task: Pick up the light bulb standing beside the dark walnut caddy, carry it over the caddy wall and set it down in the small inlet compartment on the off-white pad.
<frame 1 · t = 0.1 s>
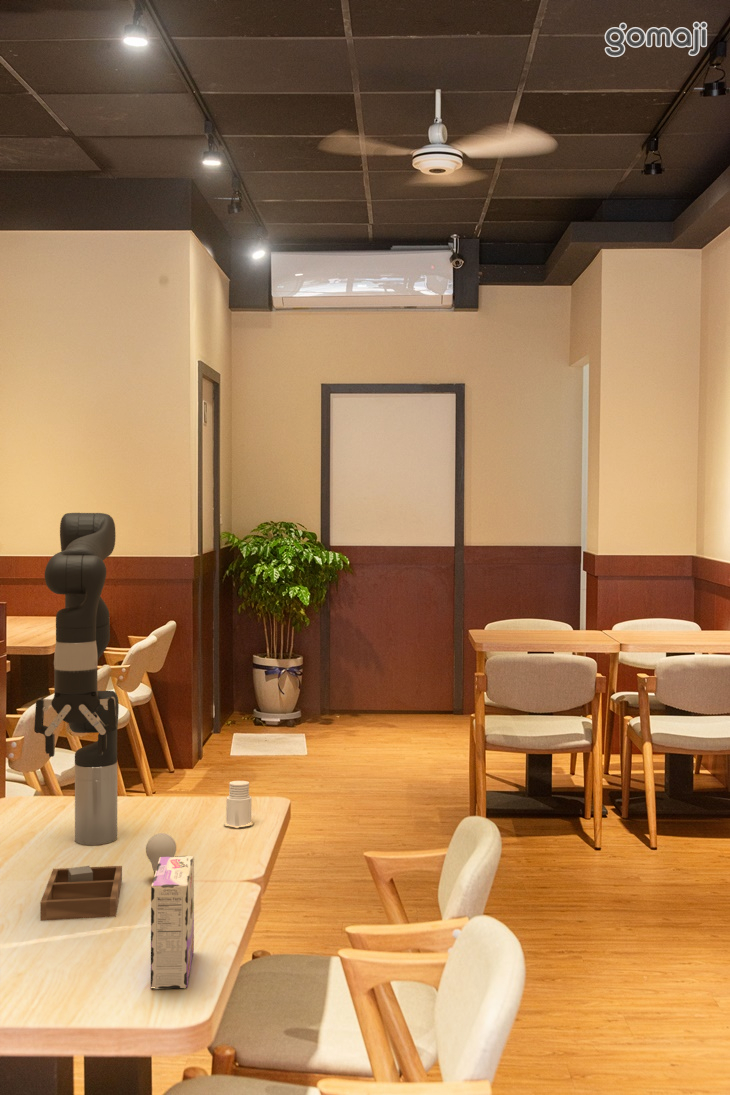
hand: (76, 755, 193), 29 cm above the table, tool pointing down, fingers open, 8 cm apart
light bulb: (160, 885, 210), on the table
candy box: (172, 971, 170), on the table
downlight: (238, 825, 250), on the table
grey cube: (80, 890, 203), point 1 cm above the table, touching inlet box
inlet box: (83, 904, 198), on the table
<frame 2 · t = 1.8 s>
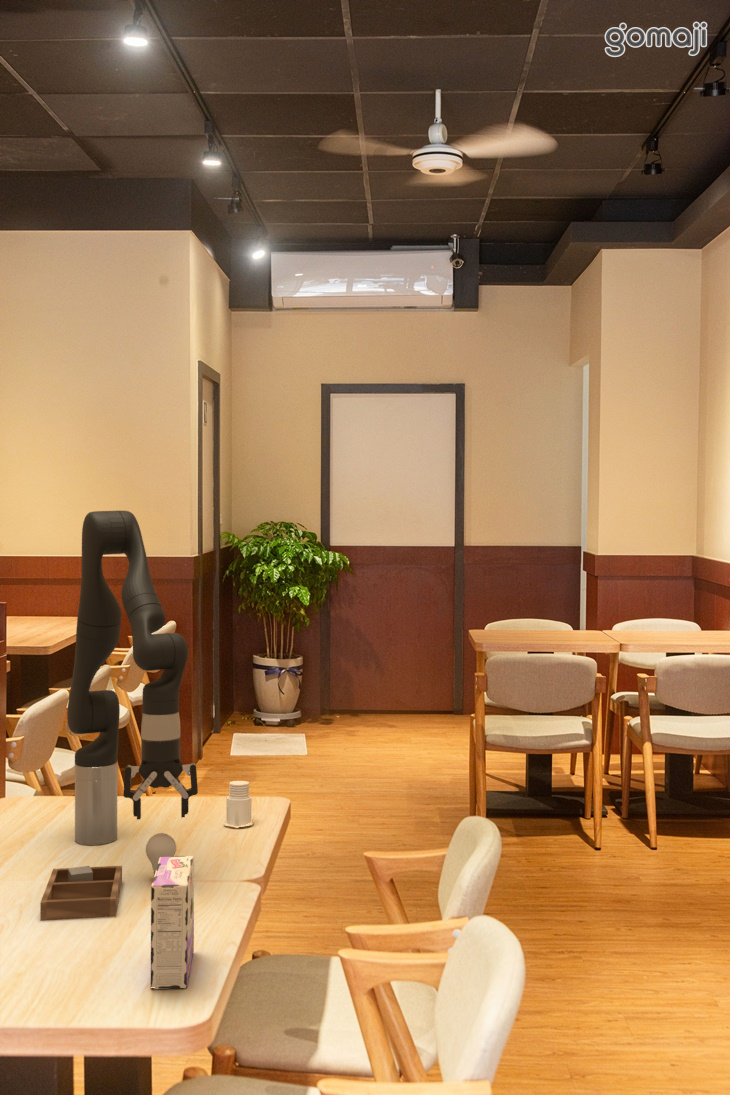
hand: (160, 817, 209), 13 cm above the table, tool pointing down, fingers open, 8 cm apart
nothing on the table moved.
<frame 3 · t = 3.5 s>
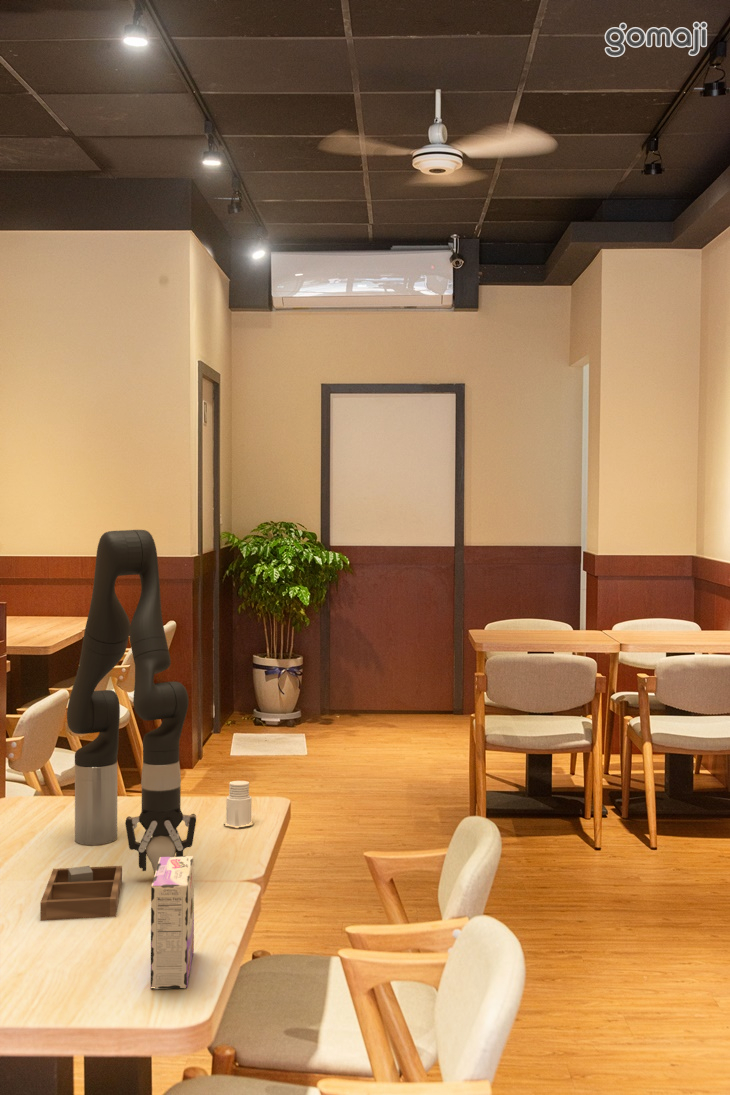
hand: (160, 868, 209), 3 cm above the table, tool pointing down, fingers closed on light bulb, 6 cm apart
light bulb: (160, 885, 210), on the table, touching gripper
everything else where it was.
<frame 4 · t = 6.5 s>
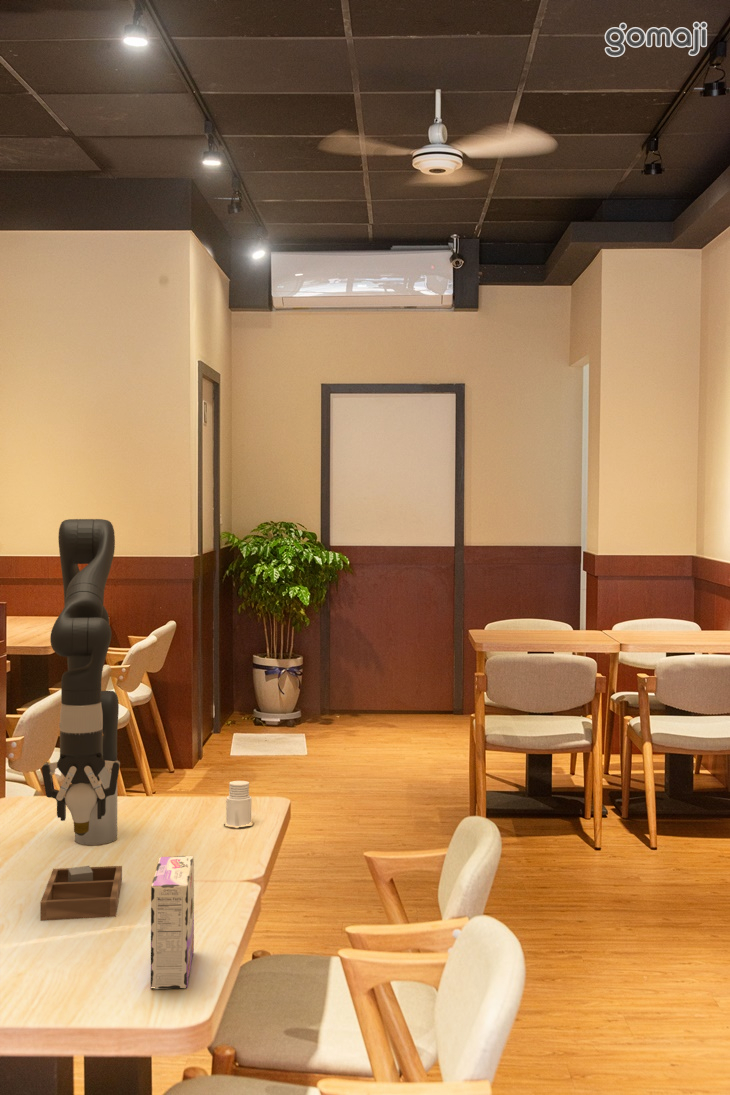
hand: (81, 818, 194), 17 cm above the table, tool pointing down, fingers closed on light bulb, 6 cm apart
light bulb: (81, 836, 194), point 14 cm above the table, touching gripper
everything else where it was.
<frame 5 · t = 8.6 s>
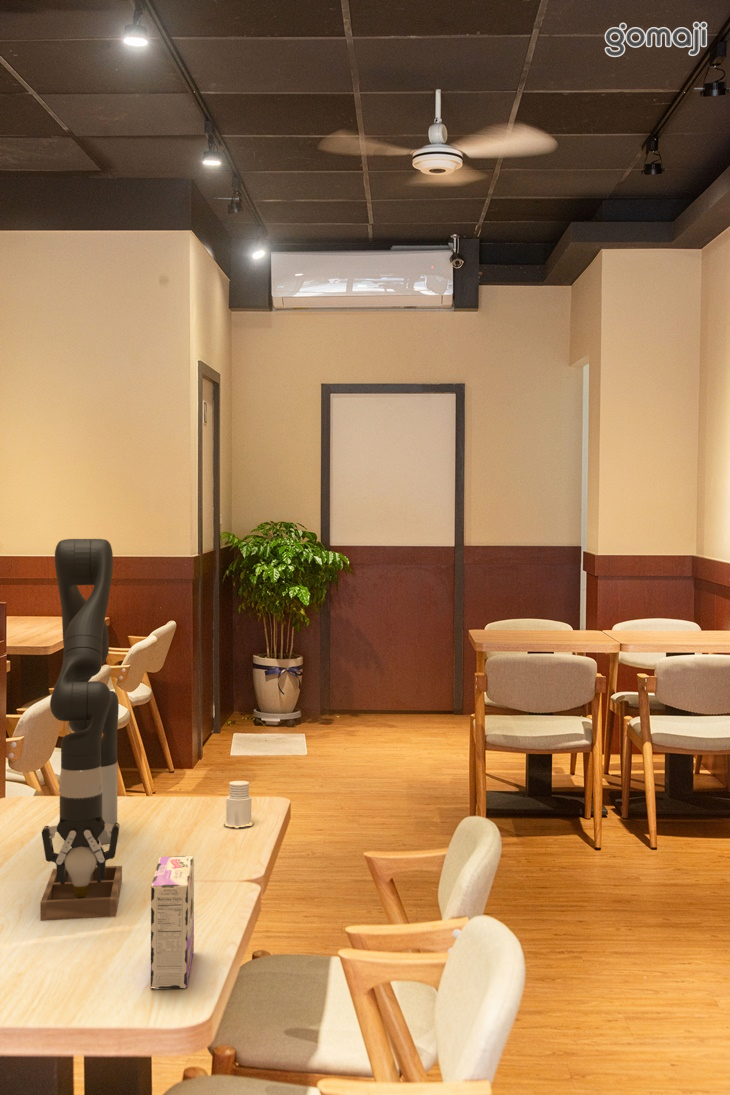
hand: (81, 881, 194), 6 cm above the table, tool pointing down, fingers closed on light bulb, 6 cm apart
light bulb: (81, 899, 194), point 2 cm above the table, touching gripper
everything else where it was.
when the fingers open (5 cm above the table, at t = 9.5 s): light bulb drops 1 cm, resting on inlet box.
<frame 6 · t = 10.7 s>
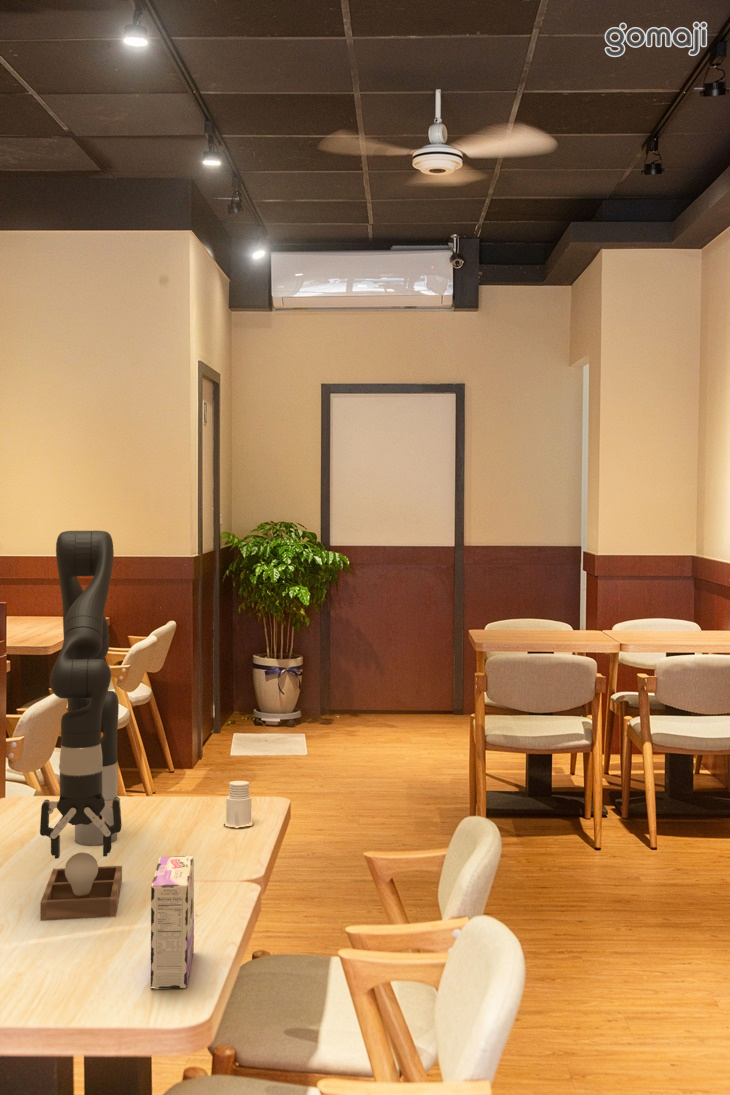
hand: (81, 856, 194), 10 cm above the table, tool pointing down, fingers open, 8 cm apart
light bulb: (82, 908, 195), point 1 cm above the table, touching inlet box
everything else where it was.
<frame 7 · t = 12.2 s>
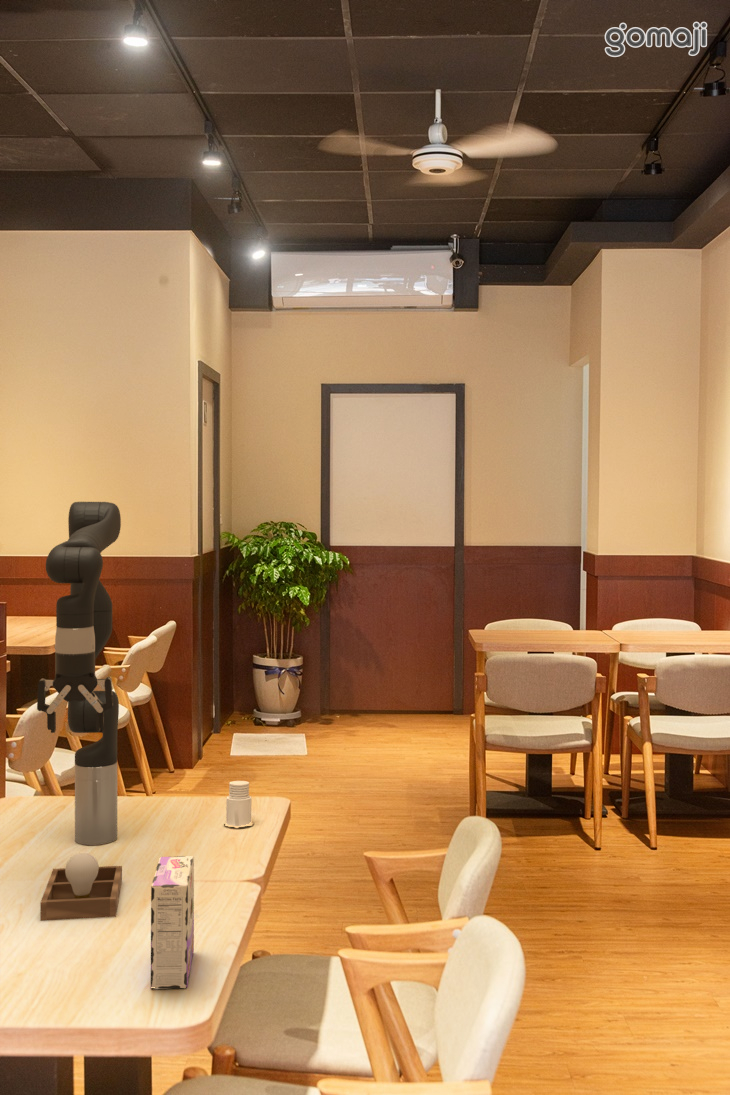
hand: (75, 731, 209), 30 cm above the table, tool pointing down, fingers open, 8 cm apart
nothing on the table moved.
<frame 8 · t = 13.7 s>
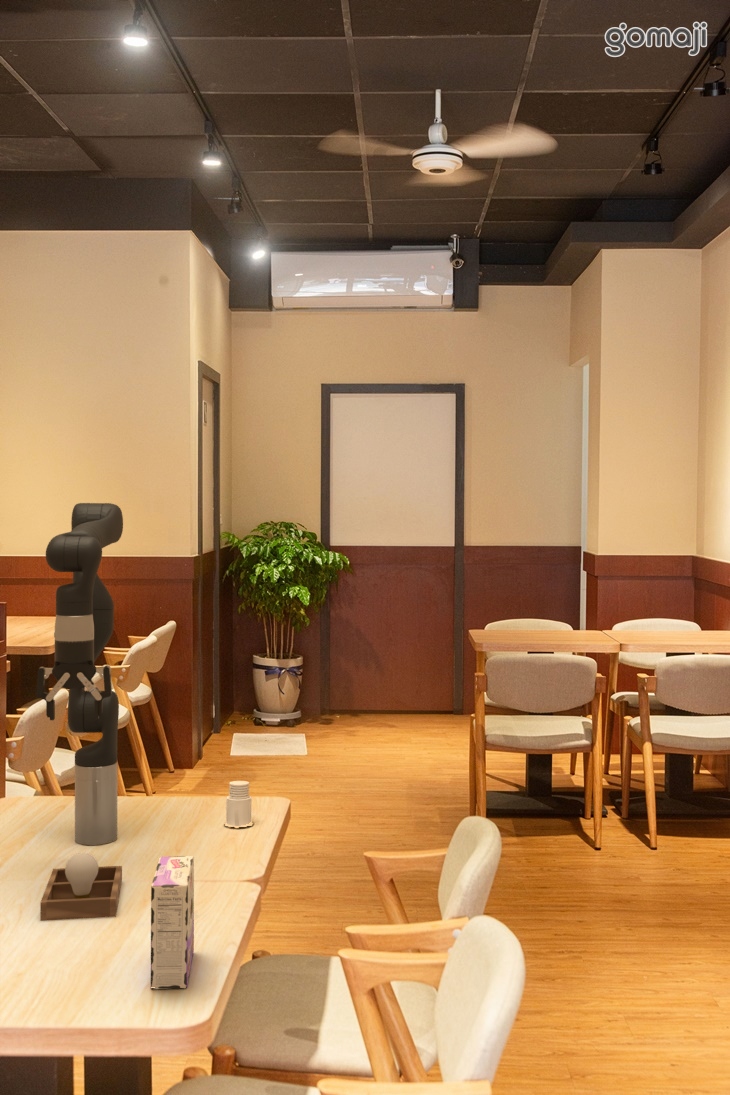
hand: (74, 719, 211), 32 cm above the table, tool pointing down, fingers open, 8 cm apart
nothing on the table moved.
at the end: light bulb inside the target area on the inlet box (0.3 cm from its centre), point 0.7 cm above the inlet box's base; the gripper is holding nothing; grey cube moved 0.1 cm from its start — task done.
